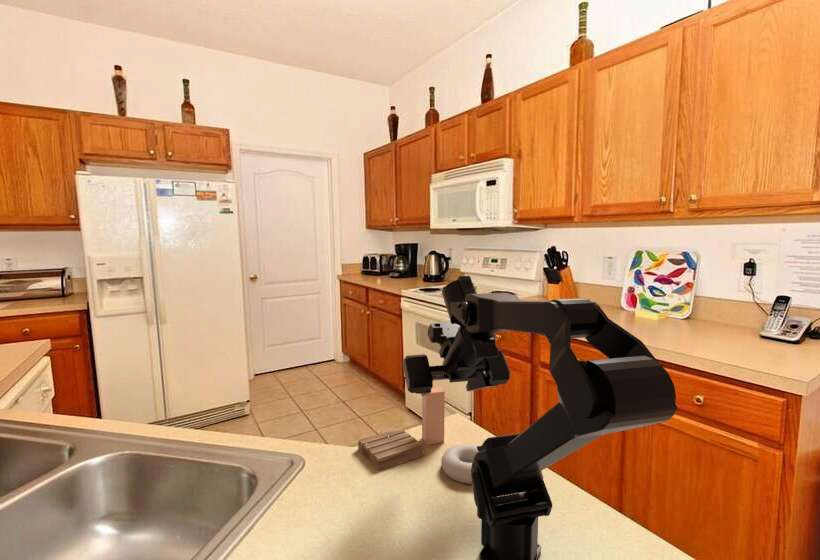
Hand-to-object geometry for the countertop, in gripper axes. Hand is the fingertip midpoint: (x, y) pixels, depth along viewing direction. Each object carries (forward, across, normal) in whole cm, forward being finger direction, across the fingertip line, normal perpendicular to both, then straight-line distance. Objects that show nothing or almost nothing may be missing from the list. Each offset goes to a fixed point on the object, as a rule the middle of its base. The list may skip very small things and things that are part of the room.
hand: (445, 391), depth 77 cm
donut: (+6, -3, +13) cm, 15 cm away
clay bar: (+15, 0, +4) cm, 15 cm away
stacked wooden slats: (+13, +10, +6) cm, 17 cm away
